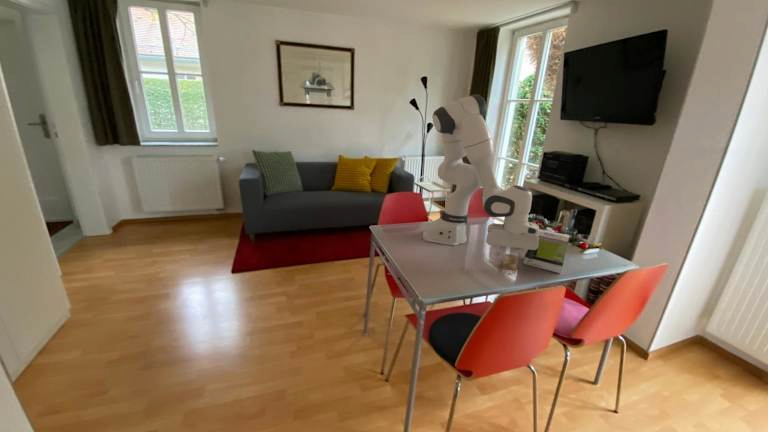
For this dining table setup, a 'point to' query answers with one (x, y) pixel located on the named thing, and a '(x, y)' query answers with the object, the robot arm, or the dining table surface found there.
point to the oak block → (509, 261)
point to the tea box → (548, 251)
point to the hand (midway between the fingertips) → (508, 256)
